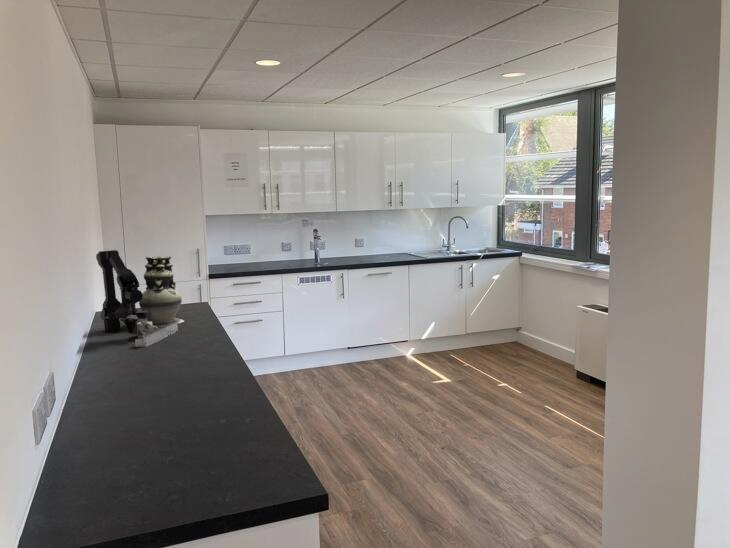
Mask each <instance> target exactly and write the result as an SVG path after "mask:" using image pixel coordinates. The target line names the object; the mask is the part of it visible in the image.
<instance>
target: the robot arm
mask: <svg viewBox="0 0 730 548" xmlns="http://www.w3.org/2000/svg"><path fill="white" fill-rule="evenodd" d="M95 255H96V256H95V258H96V261H97V263H98V264H97V265H98V266H99V267H100V268H101V271H102V277H103V285H104V286H103V287H104V295H105V296H104V297H105V299H104V301H103V303H102V309H101V312H100V315H99V316H100V319H101V320H102V321H103V323H104V326H103V327H104V329H103V330H102V333H116V332H118V331H120V330H122V326H121V322H122V323H124V325H125V326H126V328H127V330H128V333H129V334H132V333H133V332H134V329H135V327H136V325H137V323H138V320H144V319H147V318H148V317H151V312H150V311H142V310H141V311H138V309H136V308H137V307H136V304H137V303H139V301H141V300H142V297H143V294H142V293H143V292H142V291H141V290H140V289H138V288H140V283H139V280H138V278H137V277H136V274H135V273H134V272H133V270H131V269H129V268H127V266H126V265H125V263H124V261H123V260H122V258H121V256H120V254H119V250H116V249H114V250H113V249H111V250H103V251H102V250H100V251H98V252H97V253H96V254H95ZM114 271H115V273H116V283H117V284H118V287H119V290H120V296H121V301H119V299H118V298H117V297H116V296H117V295H116V287H115V285H116V284H115V275H114Z"/></svg>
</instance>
